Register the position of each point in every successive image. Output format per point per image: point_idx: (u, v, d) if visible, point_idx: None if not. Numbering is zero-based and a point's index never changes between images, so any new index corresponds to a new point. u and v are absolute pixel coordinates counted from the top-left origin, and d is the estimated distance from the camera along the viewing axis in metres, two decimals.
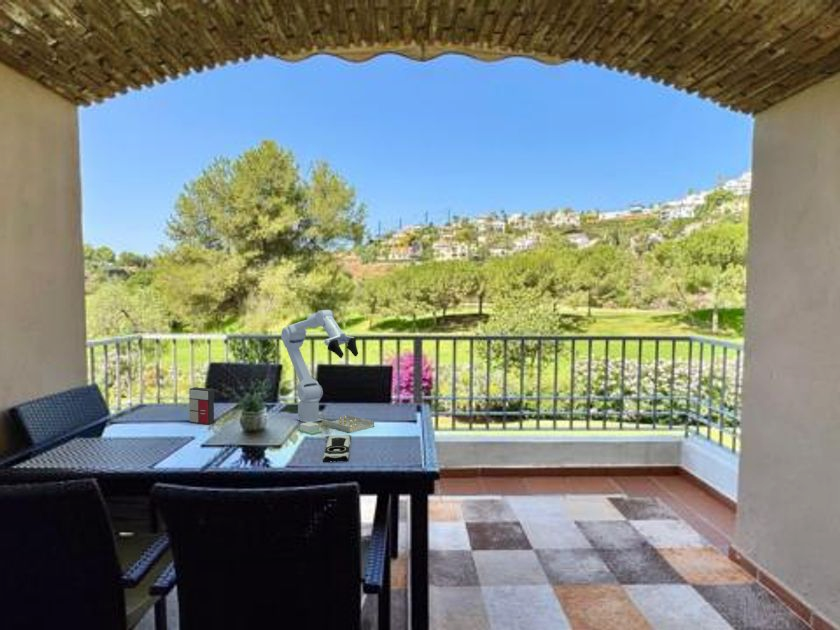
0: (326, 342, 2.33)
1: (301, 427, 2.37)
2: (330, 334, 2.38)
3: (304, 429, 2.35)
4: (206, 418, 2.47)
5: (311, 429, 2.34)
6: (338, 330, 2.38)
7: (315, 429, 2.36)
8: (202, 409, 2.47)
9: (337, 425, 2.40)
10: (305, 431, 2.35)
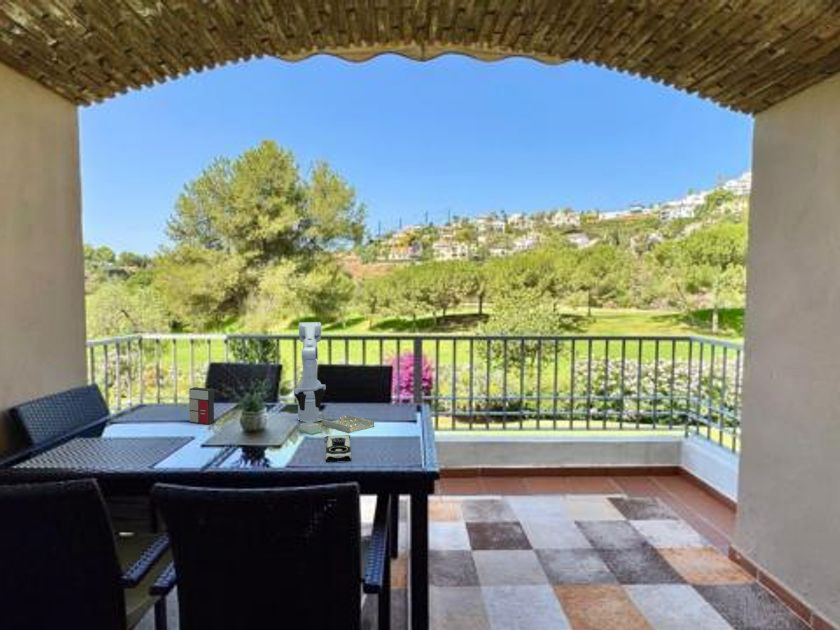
0: (295, 392, 2.31)
1: (301, 427, 2.37)
2: (304, 380, 2.34)
3: (304, 429, 2.35)
4: (206, 418, 2.47)
5: (311, 429, 2.34)
6: (313, 381, 2.34)
7: (315, 429, 2.36)
8: (202, 409, 2.47)
9: (337, 425, 2.40)
10: (305, 431, 2.35)
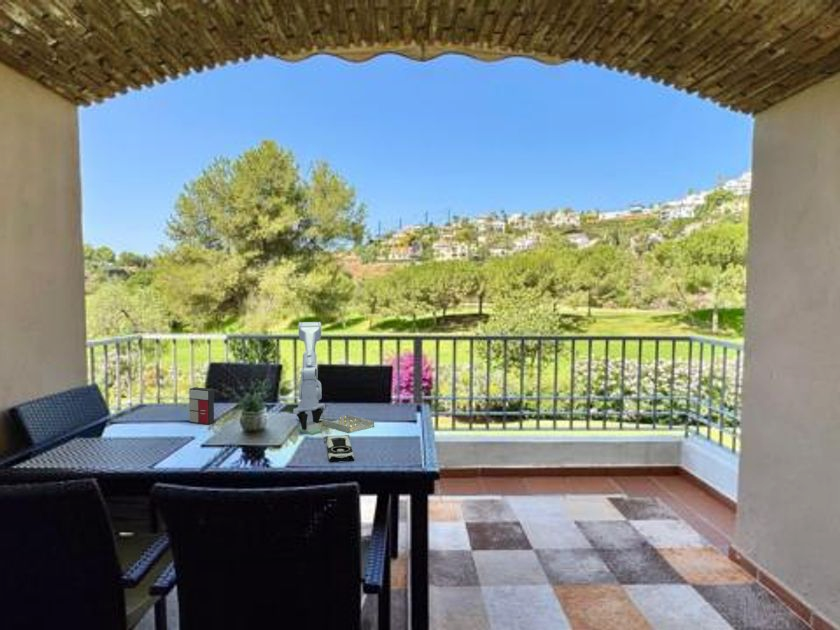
0: (295, 412, 2.31)
1: None
2: (304, 400, 2.34)
3: None
4: (206, 418, 2.47)
5: (311, 428, 2.34)
6: (313, 401, 2.34)
7: (315, 428, 2.36)
8: (202, 409, 2.47)
9: (337, 425, 2.40)
10: (305, 430, 2.35)
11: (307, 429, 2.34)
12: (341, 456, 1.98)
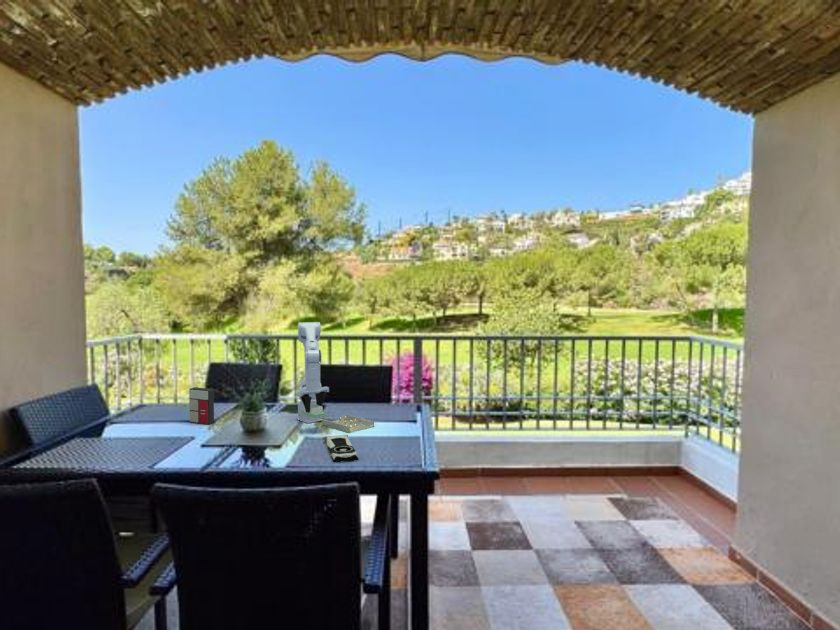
0: (298, 394, 2.32)
1: None
2: (307, 382, 2.35)
3: None
4: (206, 418, 2.47)
5: (315, 411, 2.35)
6: (316, 384, 2.35)
7: (319, 411, 2.36)
8: (202, 409, 2.47)
9: (337, 425, 2.40)
10: (309, 413, 2.35)
11: (311, 411, 2.34)
12: (345, 456, 1.99)
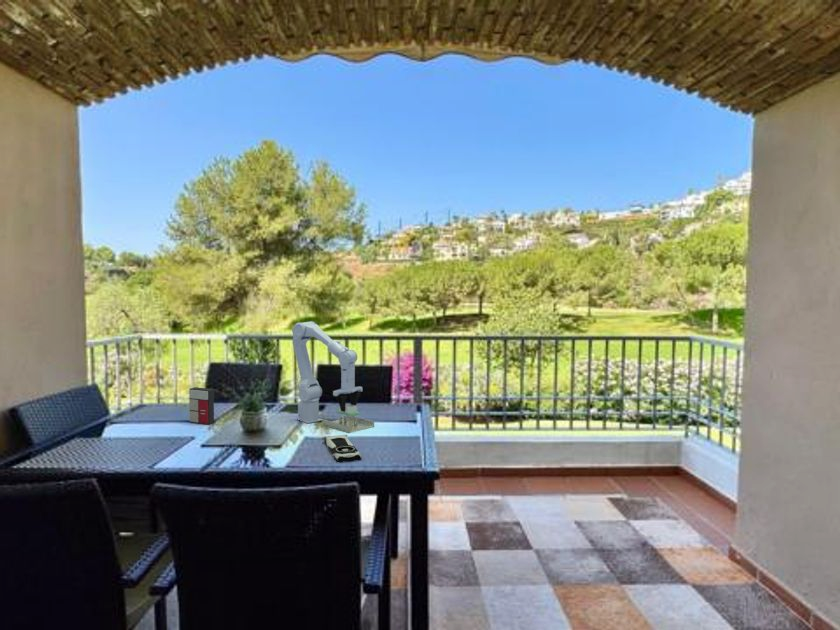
0: (334, 394, 2.40)
1: None
2: (343, 382, 2.43)
3: None
4: (206, 418, 2.47)
5: (350, 410, 2.43)
6: (351, 384, 2.43)
7: (354, 410, 2.45)
8: (202, 409, 2.47)
9: (337, 425, 2.40)
10: (344, 412, 2.44)
11: (346, 410, 2.43)
12: (349, 456, 1.99)
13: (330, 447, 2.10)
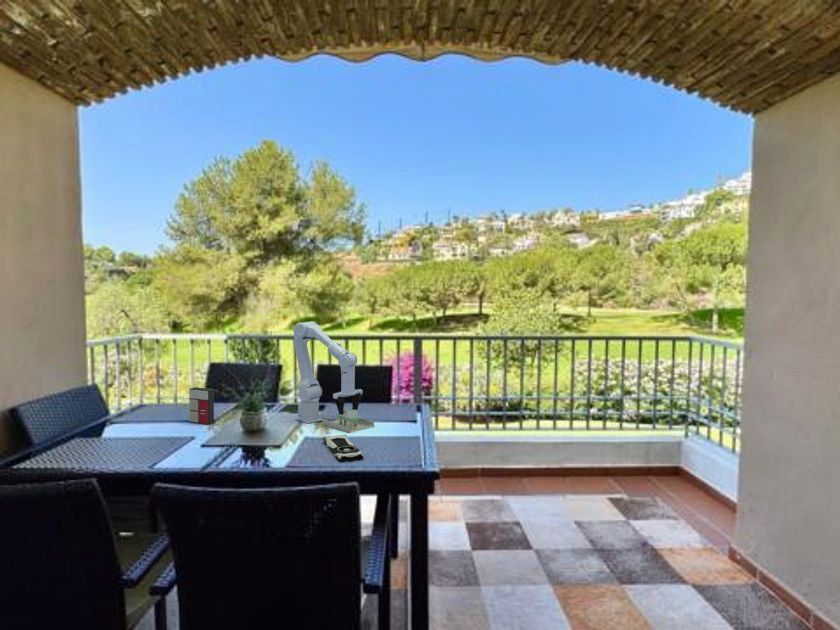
0: (334, 397, 2.40)
1: None
2: (343, 385, 2.43)
3: (343, 415, 2.45)
4: (206, 418, 2.47)
5: (350, 415, 2.43)
6: (351, 386, 2.43)
7: (353, 415, 2.45)
8: (202, 409, 2.47)
9: (337, 425, 2.40)
10: (344, 417, 2.44)
11: (346, 415, 2.43)
12: (351, 455, 1.99)
13: (331, 447, 2.09)
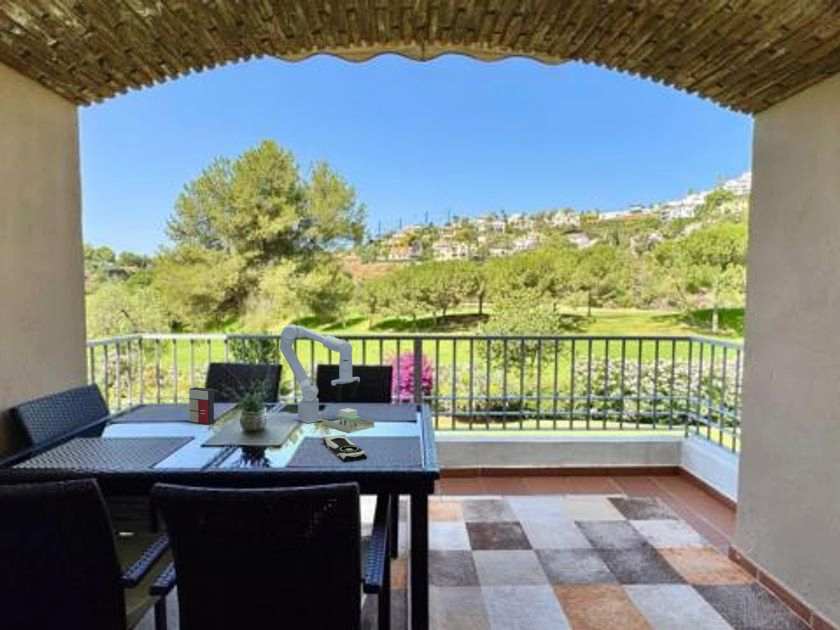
0: (333, 383, 2.51)
1: (340, 413, 2.46)
2: (340, 372, 2.54)
3: (343, 415, 2.45)
4: (206, 418, 2.47)
5: (350, 415, 2.43)
6: (349, 374, 2.53)
7: (353, 415, 2.45)
8: (202, 409, 2.47)
9: (337, 425, 2.40)
10: (344, 417, 2.44)
11: (346, 415, 2.43)
12: (355, 455, 2.00)
13: (332, 447, 2.09)
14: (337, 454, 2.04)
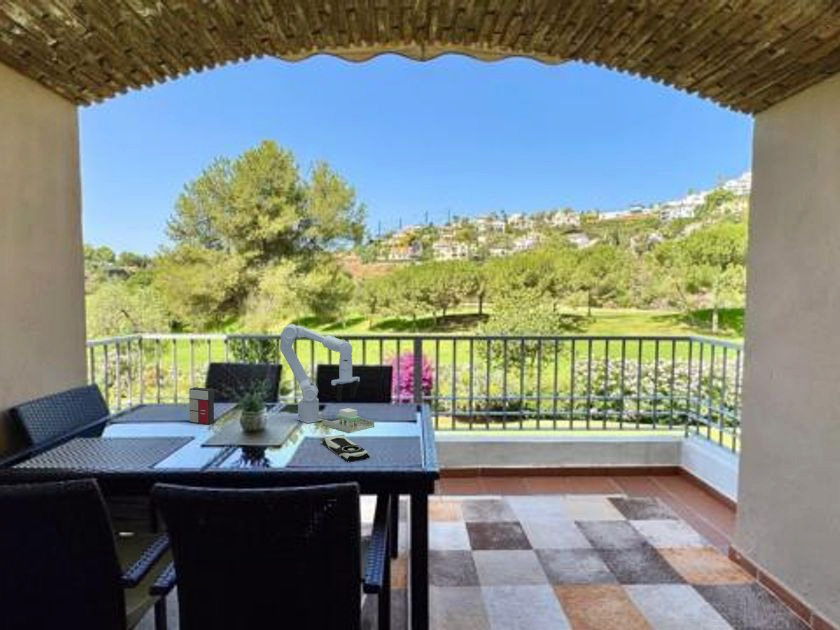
0: (333, 383, 2.51)
1: (340, 413, 2.46)
2: (340, 372, 2.54)
3: (343, 415, 2.45)
4: (206, 418, 2.47)
5: (350, 415, 2.43)
6: (349, 374, 2.54)
7: (353, 415, 2.45)
8: (202, 409, 2.47)
9: (337, 425, 2.40)
10: (344, 417, 2.44)
11: (346, 415, 2.43)
12: (358, 455, 2.00)
13: (333, 447, 2.09)
14: (339, 454, 2.04)
